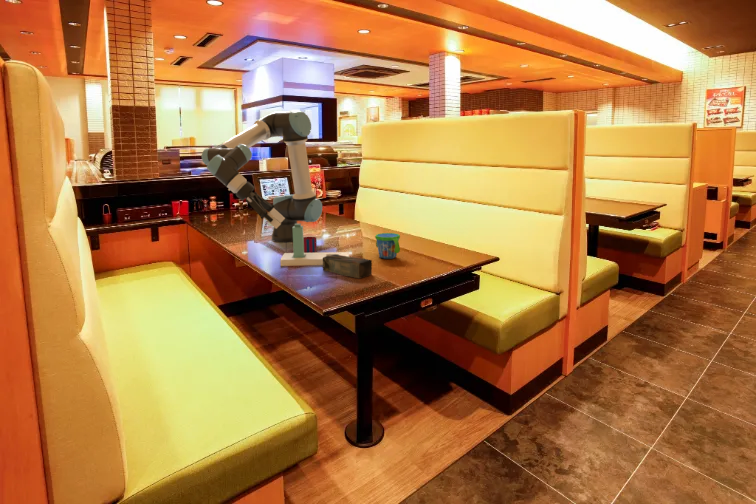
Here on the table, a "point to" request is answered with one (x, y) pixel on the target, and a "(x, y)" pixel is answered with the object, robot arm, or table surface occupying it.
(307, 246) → the cup
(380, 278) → the table surface
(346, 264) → the beverage carton
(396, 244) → the sippy cup
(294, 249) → the plug
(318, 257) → the socket panel
